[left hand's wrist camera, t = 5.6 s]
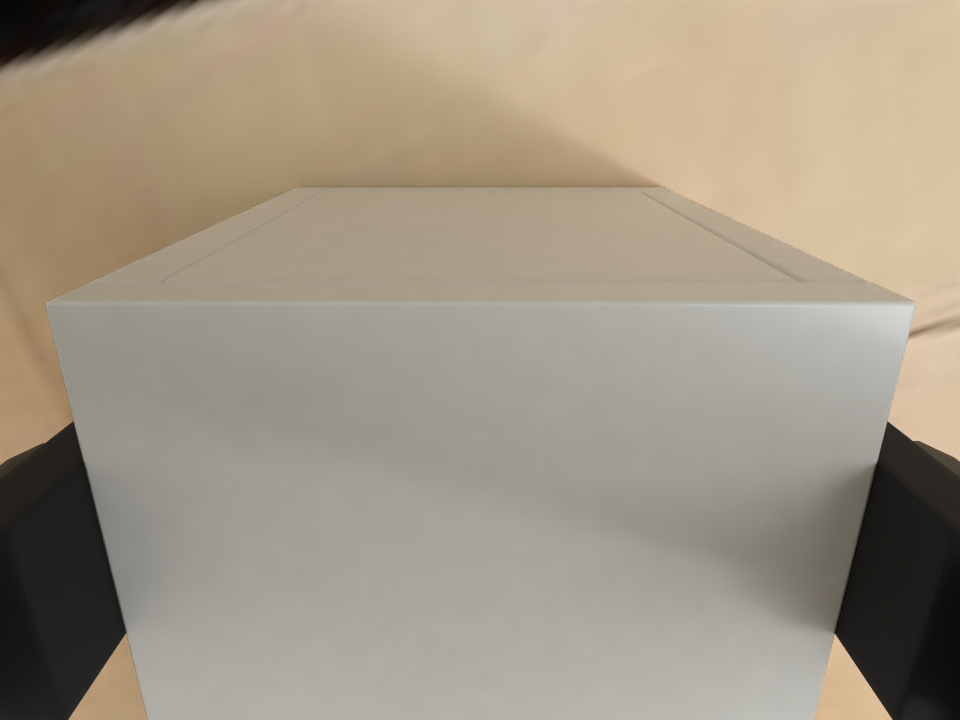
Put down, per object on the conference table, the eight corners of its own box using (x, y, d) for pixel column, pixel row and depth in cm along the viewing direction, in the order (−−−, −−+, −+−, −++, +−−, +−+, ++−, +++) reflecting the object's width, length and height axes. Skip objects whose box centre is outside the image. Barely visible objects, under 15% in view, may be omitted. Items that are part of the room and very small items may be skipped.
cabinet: (614, 714, 24) (709, 1147, 14) (346, 714, 24) (251, 1147, 14) (666, 186, 17) (919, 301, 7) (294, 186, 17) (41, 300, 7)
